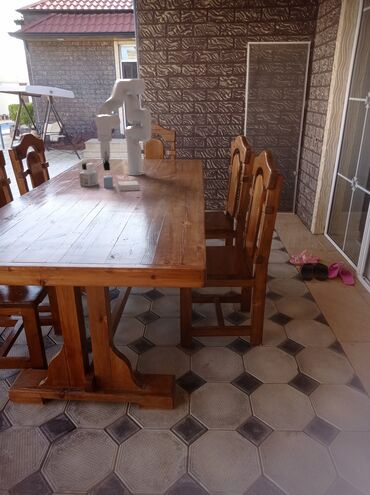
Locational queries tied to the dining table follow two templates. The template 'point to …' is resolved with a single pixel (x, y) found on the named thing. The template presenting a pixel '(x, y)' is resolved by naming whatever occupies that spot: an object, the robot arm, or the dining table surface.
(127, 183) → the base tile
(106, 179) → the blue block
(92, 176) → the container
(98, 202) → the dining table surface
